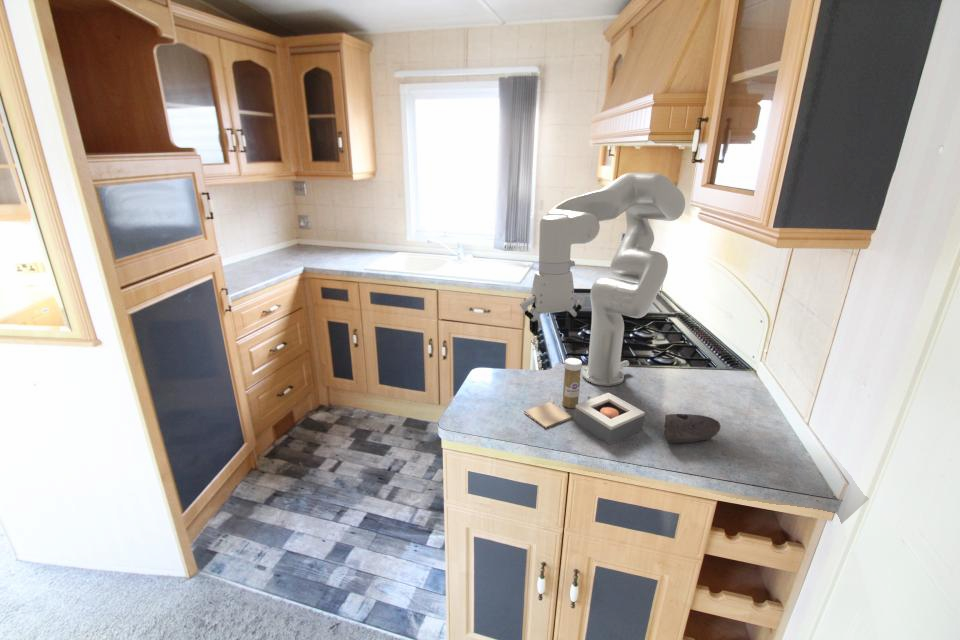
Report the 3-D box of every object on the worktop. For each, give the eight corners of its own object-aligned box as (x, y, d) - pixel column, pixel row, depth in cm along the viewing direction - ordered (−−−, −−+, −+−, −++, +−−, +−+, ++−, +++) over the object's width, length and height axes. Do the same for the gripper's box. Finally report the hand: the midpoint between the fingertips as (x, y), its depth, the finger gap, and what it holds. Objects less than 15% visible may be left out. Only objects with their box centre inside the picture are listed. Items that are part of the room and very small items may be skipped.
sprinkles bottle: (568, 410, 125) (571, 365, 120) (558, 402, 129) (561, 359, 124) (582, 406, 127) (585, 362, 122) (571, 399, 131) (575, 356, 126)
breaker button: (608, 410, 120) (609, 405, 120) (622, 418, 117) (622, 413, 116) (595, 415, 118) (596, 410, 117) (609, 424, 114) (610, 418, 114)
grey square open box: (606, 408, 126) (608, 392, 124) (642, 429, 116) (644, 412, 115) (574, 421, 120) (575, 404, 118) (609, 444, 110) (611, 426, 109)
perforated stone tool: (712, 432, 115) (717, 408, 113) (724, 444, 110) (729, 419, 108) (654, 435, 114) (658, 411, 112) (664, 448, 109) (668, 422, 107)
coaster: (549, 403, 129) (549, 401, 128) (571, 418, 121) (572, 416, 121) (524, 412, 124) (524, 410, 124) (545, 428, 117) (545, 426, 117)
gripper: (579, 260, 118) (576, 322, 124) (515, 266, 114) (515, 330, 120) (593, 267, 111) (589, 333, 117) (526, 274, 107) (525, 341, 113)
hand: (551, 331), depth 119 cm, fingers open, 9 cm apart
